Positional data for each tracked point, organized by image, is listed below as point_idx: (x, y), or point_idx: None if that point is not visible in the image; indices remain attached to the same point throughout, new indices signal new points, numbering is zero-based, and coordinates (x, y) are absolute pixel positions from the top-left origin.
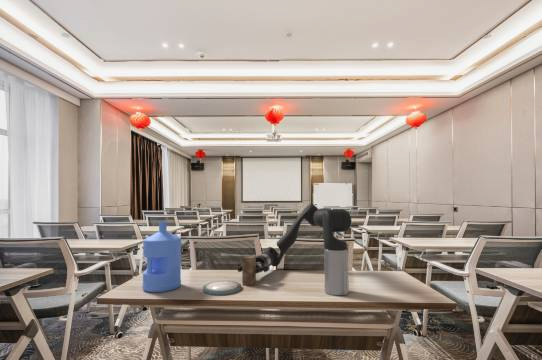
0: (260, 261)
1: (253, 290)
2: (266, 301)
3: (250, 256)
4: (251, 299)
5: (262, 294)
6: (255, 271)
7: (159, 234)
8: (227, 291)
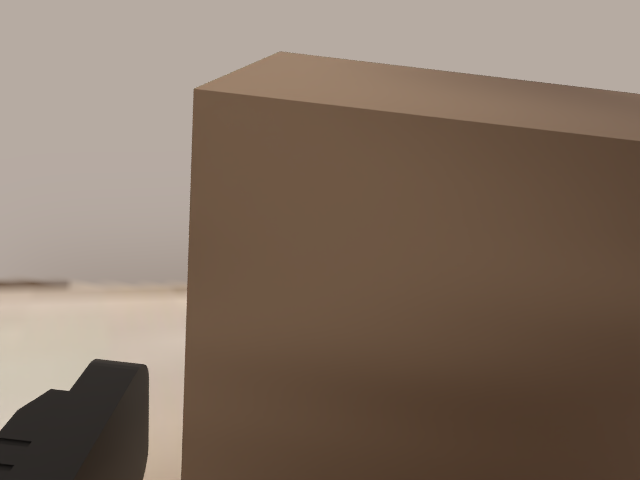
0: None
1: (156, 476)
2: (12, 280)
3: (525, 104)
4: (145, 298)
5: (29, 380)
6: (142, 419)
7: None
8: None
